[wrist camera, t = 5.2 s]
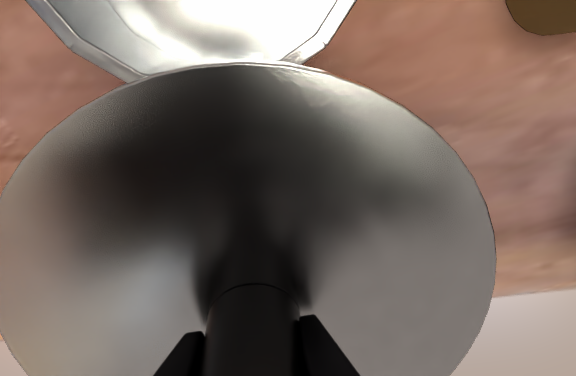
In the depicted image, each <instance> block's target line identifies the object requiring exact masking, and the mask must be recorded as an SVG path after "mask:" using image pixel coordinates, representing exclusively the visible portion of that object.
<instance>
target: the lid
mask: <svg viewBox="0 0 576 376" xmlns="http://www.w3.org/2000/svg"><path fill="white" fill-rule="evenodd" d="M495 273H496V248H495V237H494V230H493V227H492V223H491V219H490V216H489V212H488V208H487V205H486V202H485V200H484V198H483V196H482V194H481V192H480V190H479V187H478V185H477V183H476V181H475V179H474V177H473V176H472V174H471V173H470V171H469V170H468V168H467V167H466V165H465V164H464V163H463V161H462V160H461V158H460V157H459V155H458V154H457V152H456V151H455V150H454V149H453V148H452V147H451V146H450V145H449V144H448V143H447V142H446V141H445V140H444V139H443V138H442V137H441V136H440V135H439V134H438V133H437V132H436V131H435V130H434V129H433V128H432V127H431V126H430V125H428V124H427V123H426V122H424V121H423V120H422V119H420V118H419V117H418V116H416V115H415V114H414V113H412V112H411V111H410V110H408V109H407V108H406V107H404V106H403V105H401V104H400V103H398V102H396V101H394V100H392V99H391V98H389V97H387V96H385V95H383V94H381V93H379V92H378V91H376V90H374V89H372V88H370V87H368V86H366V85H365V84H362V83H359V82H357V81H354V80H351V79H348V78H345V77H343V76H340V75H337V74H334V73H332V72H329V71H326V70H321V69H316V68H311V67H307V66H302V65H297V64H292V63H288V62H275V61H261V60H246V59H243V60H228V61H214V62H201V63H196V64H192V65H187V66H182V67H177V68H173V69H168V70H163V71H159V72H157V73H154V74H151V75H148V76H146V77H143V78H140V79H138V80H135V81H132V82H129V83H127V84H124V85H121V86H119V87H117V88H115V89H113V90H111V91H109V92H108V93H106V94H104V95H102V96H100V97H98V98H97V99H95V100H93V101H91V102H89V103H87V104H86V105H84V106H82V107H80V108H78V109H77V110H76V111H74V112H73V113H72V114H71V115H69V116H68V117H67V118H65V119H64V120H63V121H61V122H60V123H59V124H58V125H56V126H55V127H54V128H52V129H51V130H50V131H49V132H47V133H46V134H45V135H44V137H43V138H42V139H41V140H40V141H39V142H38V143H37V144H36V145H35V146H34V147H33V148H32V150H31V151H30V152H29V153H28V154H27V155H26V156H25V157H24V158H23V159H22V161H21V162H20V164H19V165H18V167H17V169H16V170H15V172H14V173H13V175H12V176H11V178H10V180H9V181H8V183H7V184H6V186H5V187H4V189H3V192H2V194H1V197H0V333H1V335H2V337H3V339H4V341H5V343H6V344H7V346H8V348H9V350H10V351H11V353H12V355H13V356H14V358H15V359H16V360H17V362H18V363H19V364H20V366H21V367H22V368H23V370H24V371H25V372H26V374H27V375H28V376H153V375H154V373H155V372H156V371H157V369H158V368H159V367H160V365H161V364H162V363H163V362H164V360H165V359H166V358H167V356H168V355H169V354H170V352H171V351H172V350H173V348H174V347H175V346H176V344H177V343H178V342H179V341H180V339H181V338H182V337H183V335H184V334H186V333H188V332H194V331H202V332H203V334H204V336H205V337H204V342H203V348H202V354H201V359H200V365H199V370H198V376H307V375H306V368H305V362H304V356H303V348H302V340H301V332H300V323H299V317H300V316H304V315H311V314H314V315H316V316H317V317H318V319H319V320H320V321H321V323H322V324H323V325H324V327H325V328H326V329H327V331H328V332H329V334H330V335H331V336H332V338H333V339H334V340H335V342H336V343H337V344H338V346H339V347H340V348H341V350H342V351H343V353H344V354H345V355H346V357H347V358H348V359H349V361H350V362H351V363H352V365H353V366H354V367H355V369H356V370H357V371H358V373H359V374H360V376H450V375H451V374H452V372H453V371H454V370H455V369H456V367H457V366H458V365H459V363H460V362H461V361H462V359H463V358H464V357H465V355H466V354H467V353H468V351H469V349H470V348H471V346H472V344H473V342H474V341H475V339H476V337H477V335H478V334H479V332H480V330H481V327H482V325H483V322H484V320H485V317H486V314H487V312H488V310H489V306H490V302H491V298H492V293H493V289H494V285H495Z"/></svg>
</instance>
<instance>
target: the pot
mask: <svg viewBox="0 0 576 376" xmlns="http://www.w3.org/2000/svg"><path fill="white" fill-rule="evenodd" d="M25 1H26V2H27V3H28V4H29V5H30V7H31V8H32V9H33V10H34V11H35V12H36V13H37V14H38V15H39V16H40V18H41V19H42V20H43V21H44V22H45V23H46V24H47V25H48V26H49V28H50V29H51V30H52V31H53V32H54V33H55V34H56V35H57V36H58V38H59V39H60V40H61V41H62V42H63V43H64V44H65V45H66V46H67V47H68V48H69V49H71V51H72V52H74V53H76V54H77V55H79V56H81V57H82V58H84V59H86V60H88V61H89V62H91V63H93V64H95V65H96V66H98V67H100V68H101V69H103V70H105V71H107V72H108V73H110V74H112V75H114V76H115V77H117V78H119V79H121V80H122V81H124V82H126V83H129V82H132V81H135V80H138V79H140V78H143V77H146V76H148V75H151V74H154V73H157V72H159V71H163V70H168V69H173V68H177V67H182V66H187V65H192V64H196V63H201V62H214V61H228V60H243V59H246V60H261V61H275V62H288V63H292V64H297V65H302V64H304V63H305V62H307V61H308V60H309V59H311V58H312V57H314V56H315V55H316V54H318V53H319V52H320V51H322V50H323V49H325V48H326V46H327V45H328V44H329V43H330V41H331V40H332V38H333V37H334V35H335V34H336V32H337V31H338V29H339V28H340V26H341V24H342V23H343V21H344V20H345V18H346V17H347V15H348V14H349V12H350V11H351V9H352V7H353V6H354V4H355V3H356V1H357V0H25Z"/></svg>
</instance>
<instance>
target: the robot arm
mask: <svg viewBox="0 0 576 376" xmlns="http://www.w3.org/2000/svg"><path fill="white" fill-rule="evenodd" d="M299 323H300V332H301V340H302V348H303V356H304V362H305V368H306V375H307V376H360V374H359V373H358V371H357V370H356V369H355V367H354V366H353V365H352V363H351V362H350V361H349V359H348V358H347V357H346V355H345V354H344V353H343V351H342V350H341V348H340V347H339V346H338V344H337V343H336V342H335V340H334V339H333V338H332V336H331V335H330V334H329V332H328V331H327V329H326V328H325V327H324V325H323V324H322V323H321V321H320V320H319V319H318V317H317V316H316V315H314V314H311V315H304V316H300V317H299ZM204 337H205V336H204V334H203V332H202V331H194V332H188V333H186V334H184V335H183V337H182V338H181V339H180V341H179V342H178V343H177V344H176V346H175V347H174V348H173V350H172V351H171V352H170V354H169V355H168V356H167V358H166V359H165V360H164V362H163V363H162V364H161V365H160V367H159V368H158V369H157V371H156V372H155V373H154V375H153V376H198V370H199V365H200V359H201V354H202V348H203V342H204Z"/></svg>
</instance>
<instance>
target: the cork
mask: <svg viewBox="0 0 576 376" xmlns="http://www.w3.org/2000/svg"><path fill="white" fill-rule="evenodd" d="M506 4H507V6H508V8H509V10H510V12H511V14H512V16H513V19H514V20H515V21H516V22H517V23H518V24H519V25H520V26H522V27H523V28H524V29H525V30H526V31H529V32H532V33H536V34H539V35H554V34H563V33H571V32H576V0H506Z"/></svg>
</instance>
